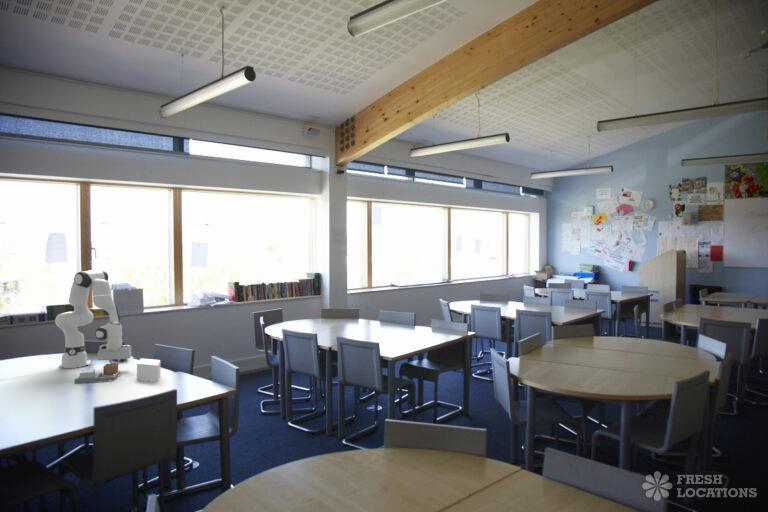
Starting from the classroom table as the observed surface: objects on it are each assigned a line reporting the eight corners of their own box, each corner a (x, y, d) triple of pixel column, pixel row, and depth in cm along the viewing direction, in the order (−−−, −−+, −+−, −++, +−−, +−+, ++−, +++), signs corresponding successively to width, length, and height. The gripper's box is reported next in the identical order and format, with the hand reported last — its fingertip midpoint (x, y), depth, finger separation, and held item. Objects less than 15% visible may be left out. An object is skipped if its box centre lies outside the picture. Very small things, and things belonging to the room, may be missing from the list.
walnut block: (108, 370, 322) (108, 361, 322) (120, 369, 324) (120, 361, 324) (103, 375, 308) (103, 366, 308) (115, 375, 310) (115, 365, 310)
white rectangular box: (145, 384, 289) (145, 367, 289) (128, 375, 309) (129, 360, 309) (169, 379, 300) (169, 363, 300) (152, 371, 320) (152, 356, 320)
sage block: (82, 379, 298) (82, 370, 298) (95, 378, 301) (95, 369, 301) (80, 382, 291) (80, 373, 291) (93, 381, 294) (93, 372, 294)
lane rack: (81, 377, 303) (81, 373, 303) (119, 374, 310) (119, 371, 310) (74, 383, 289) (74, 379, 289) (114, 380, 296) (114, 376, 296)
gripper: (132, 343, 329) (132, 363, 329) (99, 345, 322) (98, 365, 322) (130, 345, 323) (130, 365, 323) (96, 347, 316) (96, 367, 316)
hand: (114, 365), depth 323 cm, fingers closed on walnut block
